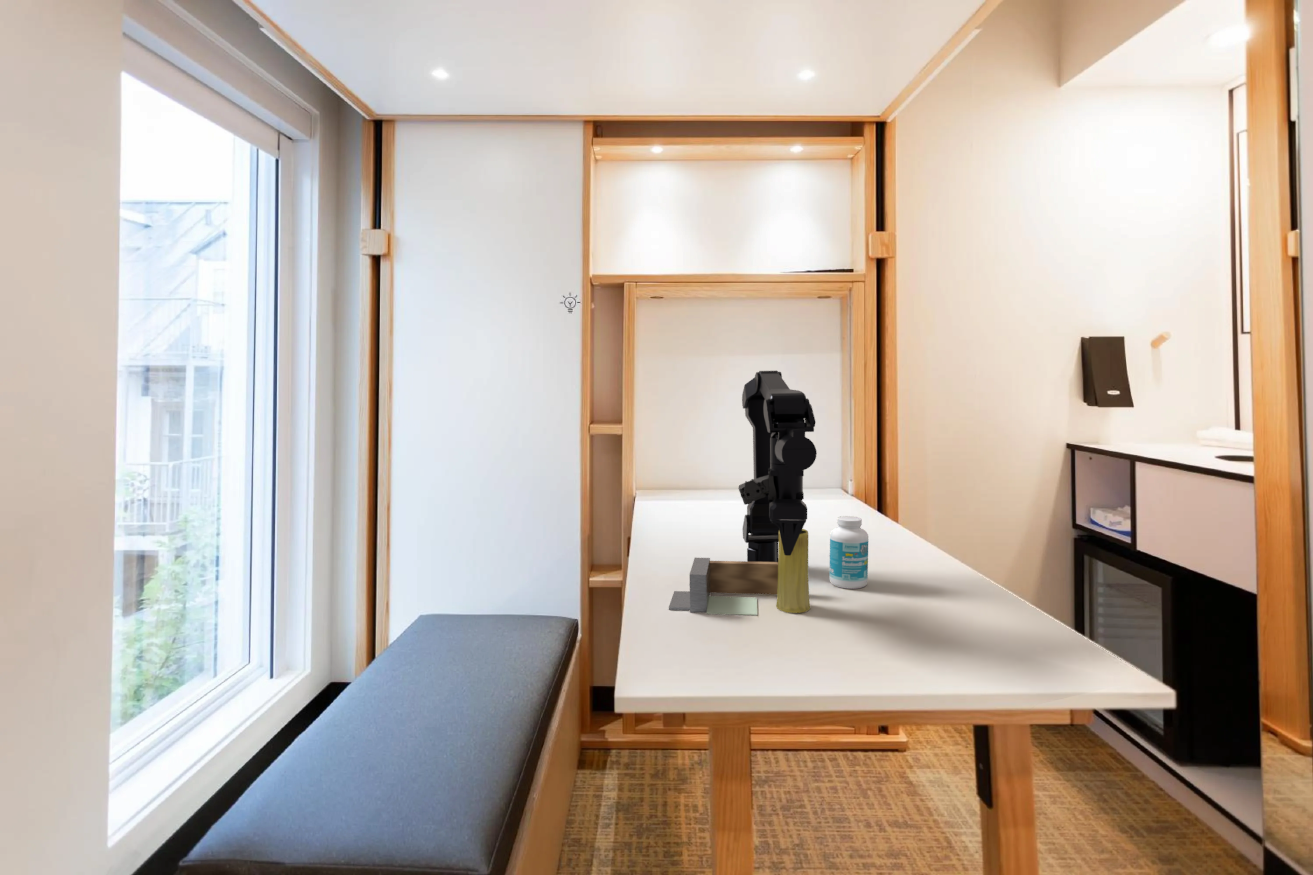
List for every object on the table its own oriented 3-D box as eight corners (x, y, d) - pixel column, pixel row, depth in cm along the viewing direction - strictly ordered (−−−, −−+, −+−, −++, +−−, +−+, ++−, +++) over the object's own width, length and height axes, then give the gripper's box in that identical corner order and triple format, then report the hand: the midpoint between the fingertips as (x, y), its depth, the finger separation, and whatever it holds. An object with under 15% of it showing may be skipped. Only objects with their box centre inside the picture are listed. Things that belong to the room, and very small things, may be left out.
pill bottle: (843, 591, 129) (844, 523, 128) (822, 581, 136) (822, 516, 135) (875, 587, 132) (876, 520, 131) (853, 576, 139) (853, 512, 138)
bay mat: (756, 598, 127) (756, 597, 127) (757, 615, 118) (757, 614, 118) (709, 596, 128) (709, 595, 128) (706, 613, 119) (706, 612, 119)
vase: (813, 604, 123) (813, 528, 121) (806, 615, 117) (806, 536, 116) (781, 600, 125) (780, 525, 124) (772, 611, 120) (772, 533, 118)
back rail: (801, 592, 129) (801, 562, 129) (801, 595, 128) (801, 564, 127) (695, 589, 132) (695, 560, 132) (695, 592, 131) (694, 562, 130)
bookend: (710, 592, 130) (710, 557, 130) (706, 612, 120) (706, 574, 119) (674, 591, 131) (674, 557, 131) (668, 611, 121) (667, 573, 120)
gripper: (742, 456, 129) (743, 535, 131) (739, 470, 111) (739, 561, 112) (801, 456, 128) (801, 536, 129) (807, 470, 109) (807, 563, 111)
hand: (786, 548), depth 120 cm, fingers open, 9 cm apart
